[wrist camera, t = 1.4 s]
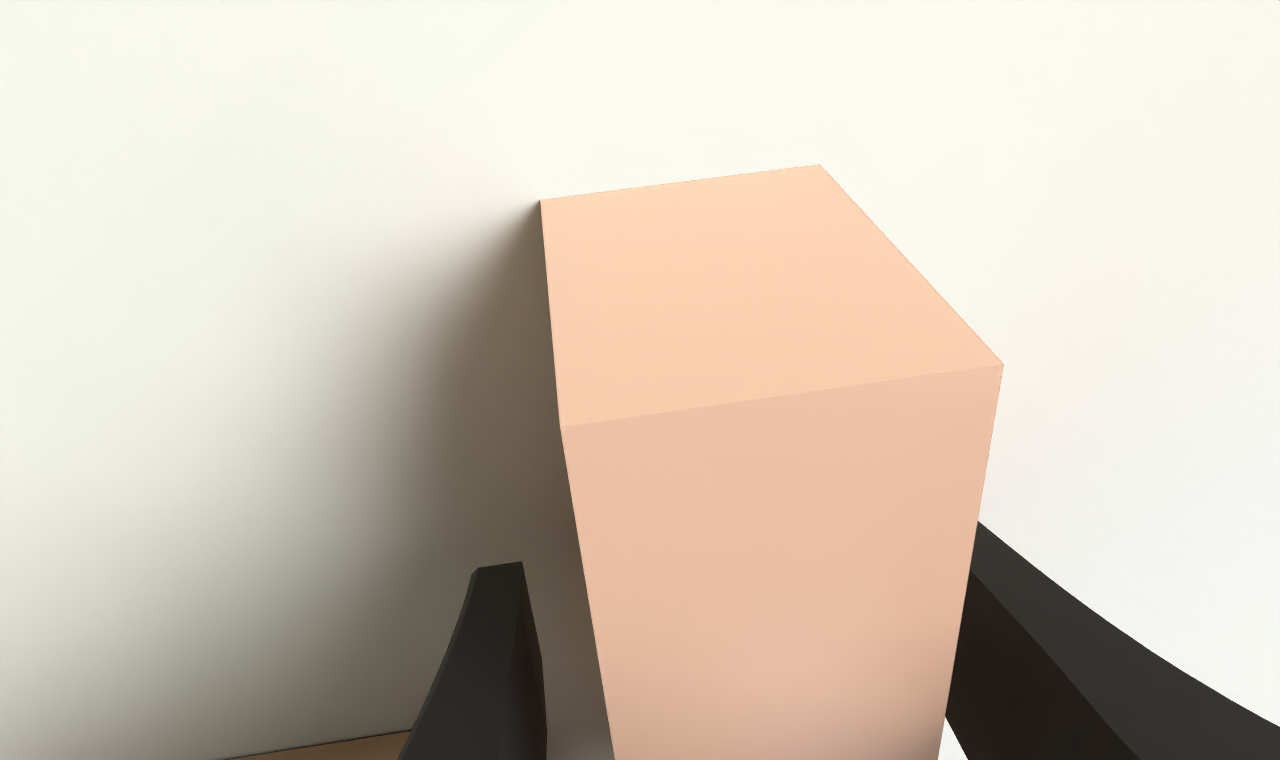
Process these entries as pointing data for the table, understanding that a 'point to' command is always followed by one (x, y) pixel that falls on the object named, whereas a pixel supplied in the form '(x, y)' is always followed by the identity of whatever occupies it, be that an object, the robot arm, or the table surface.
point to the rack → (344, 750)
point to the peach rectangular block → (765, 467)
